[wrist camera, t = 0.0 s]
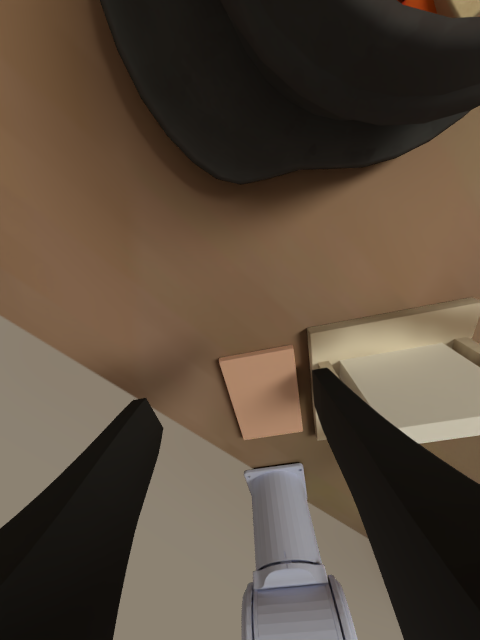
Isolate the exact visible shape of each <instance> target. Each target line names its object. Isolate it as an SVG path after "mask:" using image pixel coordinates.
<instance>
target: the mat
mask: <svg viewBox="0 0 480 640" xmlns="http://www.w3.org/2000/svg"><path fill="white" fill-rule="evenodd" d="M219 364H220V367H221V370H222V373H223V376H224V379H225V382H226V385H227V388H228V392H229V395H230V398H231V401H232V404H233V407H234V410H235V413H236V416H237V420H238V423H239V426H240V429H241V432H242V435H243V438H244V440H248V439H255V438H262V437H269V436H275V435H282V434H289V433H295V432H302V431H303V427H302V419H301V410H300V401H299V392H298V384H297V375H296V366H295V358H294V349H293V346H292V345H287V346H282V347H276V348H271V349H265V350H260V351H254V352H249V353H243V354H238V355H232V356H227V357H221V358H219Z"/></svg>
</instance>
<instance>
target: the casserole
mask: <svg viewBox="0 0 480 640" xmlns="http://www.w3.org/2000/svg"><path fill="white" fill-rule="evenodd" d="M100 2H101V5H102V8H103V11H104V13H105V16H106V19H107V22H108V25H109V28H110V30H111V33H112V36H113V39H114V42H115V45H116V47H117V50H118V52H119V54H120V56H121V58H122V60H123V62H124V64H125V66H126V68H127V70H128V72H129V74H130V77H131V79H132V81H133V83H134V85H135V87H136V89H137V91H138V93H139V95H140V97H141V99H142V100H143V101H144V103H145V104H146V106H147V107H148V109H149V110H150V112H151V113H152V114H153V116H154V117H155V119H156V120H157V122H158V123H159V124H160V126H161V127H162V129H163V130H164V132H165V133H166V135H167V136H168V137H169V138H170V139H171V140H172V141H173V142H174V143H175V144H176V145H177V146H178V147H179V148H180V149H181V150H182V152H183V153H184V154H185V155H186V156H187V157H188V158H189V159H190V160H191V161H192V162H193V163H195V164H196V165H197V166H199V167H200V168H202V169H203V170H205V171H206V172H208V173H209V174H210V175H212V176H213V177H215V178H216V179H220V180H224V181H228V182H232V183H237V184H246V183H251V182H255V181H260V180H264V179H269V178H272V177H276V176H279V175H283V174H286V173H290V172H293V171H297V170H304V169H335V168H360V167H366V166H369V165H373V164H376V163H380V162H384V161H387V160H391V159H394V158H397V157H399V156H401V155H403V154H405V153H407V152H409V151H411V150H413V149H415V148H417V147H419V146H421V145H423V144H425V143H427V142H429V141H430V140H432V139H433V138H435V137H436V136H437V135H439V134H440V133H442V132H443V131H444V130H446V129H447V128H448V127H450V126H451V125H453V124H454V123H455V122H457V121H458V120H460V119H461V118H462V117H464V116H465V115H466V114H467V113H468V112H469V111H470V110H472V109H474V108H476V107H478V106H480V0H100Z"/></svg>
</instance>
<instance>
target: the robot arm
mask: <svg viewBox="0 0 480 640" xmlns="http://www.w3.org/2000/svg"><path fill="white" fill-rule="evenodd" d="M312 381H313V395H314V406H315V409H316V412H317V415H318V418H319V421H320V424H321V426H322V429H323V432H324V434H325V436H326V438H327V440H328V443H329V445H330V447H331V449H332V452H333V454H334V456H335V458H336V460H337V463H338V465H339V467H340V469H341V471H342V474H343V476H344V478H345V480H346V482H347V485H348V487H349V489H350V491H351V494H352V496H353V498H354V501H355V503H356V506H357V508H358V511H359V514H360V516H361V519H362V522H363V525H364V527H365V530H366V533H367V535H368V538H369V541H370V543H371V546H372V549H373V552H374V555H375V558H376V560H377V563H378V565H379V569H380V572H381V574H382V577H383V580H384V583H385V586H386V588H387V591H388V594H389V597H390V600H391V603H392V606H393V609H394V611H395V615H396V617H397V620H398V623H399V626H400V629H401V632H402V635H403V638H404V640H480V484H478V483H476V482H475V481H473V480H472V479H470V478H468V477H467V476H465V475H464V474H462V473H461V472H459V471H458V470H456V469H455V468H453V467H452V466H450V465H449V464H447V463H446V462H444V461H443V460H441V459H440V458H438V457H437V456H435V455H434V454H433V453H431V452H430V451H428V450H427V449H425V448H424V447H422V446H421V445H420V444H418V443H417V442H415V441H414V440H413V439H411V438H410V437H409V436H407V435H406V434H405V433H403V432H402V431H401V430H399V429H398V428H397V427H395V426H394V425H393V424H392V423H390V422H389V421H388V420H386V419H385V418H384V417H383V416H381V415H380V414H379V413H378V412H377V411H375V410H374V409H373V408H372V407H371V406H369V405H368V404H367V403H366V402H365V401H363V400H362V399H361V398H360V397H359V396H358V395H357V394H355V393H354V392H353V391H352V390H351V389H350V388H349V387H348V386H347V385H345V384H344V383H343V382H342V381H341V380H340V379H339V378H338V377H337V376H336V375H335V374H334V373H333V372H332V371H331V370H330V369H328V368H327V367H326V368H320V369H315V370H312ZM162 432H163V427H162V425H161V423H160V422H159V420H158V418H157V416H156V415H155V413H154V411H153V409H152V408H151V406H150V404H149V402H148V401H147V399H146V398H143V399H137V400H133V401H132V402H131V403H130V404H129V405H128V406H127V407H126V408H125V409H124V410H123V411H122V412H121V413H120V414H119V415H118V416H117V417H116V418H115V419H114V420H113V421H112V422H111V423H110V425H108V427H107V428H106V429H105V430H104V431H103V432H102V433H101V434H100V435H99V436H98V437H97V438H96V439H95V440H94V441H93V442H92V443H91V444H90V446H88V448H87V449H86V450H85V451H84V452H83V453H82V454H81V455H80V456H79V457H78V458H77V459H76V460H75V461H74V462H73V463H72V464H71V465H70V466H69V467H68V468H67V469H66V470H65V471H64V472H63V473H62V474H61V475H60V476H59V477H58V478H56V479H55V480H54V481H53V482H52V483H51V484H50V485H49V486H48V487H47V488H46V489H45V490H44V491H43V492H42V493H40V495H38V496H37V497H36V498H35V499H34V500H33V501H32V502H30V503H29V505H27V506H26V507H25V508H24V509H23V510H22V511H20V512H19V513H18V514H17V515H16V516H15V517H14V518H12V519H11V520H10V521H9V522H8V523H6V524H5V525H4V526H3V527H2V528H1V529H0V640H113V635H114V629H115V624H116V619H117V613H118V607H119V603H120V598H121V592H122V588H123V582H124V578H125V573H126V568H127V564H128V559H129V555H130V551H131V546H132V542H133V537H134V533H135V529H136V526H137V522H138V519H139V515H140V512H141V509H142V506H143V502H144V499H145V496H146V493H147V490H148V486H149V483H150V480H151V477H152V474H153V470H154V467H155V464H156V461H157V457H158V454H159V449H160V444H161V439H162ZM244 476H245V479H246V481H247V484H248V487H249V490H250V493H251V495H252V507H253V523H254V524H253V525H254V542H255V560H256V571H253V582H251V583H249V584H248V586H247V589H246V590H245V592H244V595H243V601H242V640H358V639H357V636H356V631H355V628H354V624H353V621H352V617H351V614H350V611H349V607H348V604H347V600H346V598H345V594H344V592H343V589H342V586H341V584H340V583H339V582H338V581H337V580H336V579H335V577H334V576H333V575H328V578H327V574H326V570H325V566H324V565H323V564H322V561H321V557H320V553H319V549H318V545H317V541H316V537H315V532H314V528H313V524H312V520H311V516H310V512H309V508H308V504H307V493H306V485H305V477H304V470H303V465H302V464H301V463H295V464H288V465H281V466H274V467H266V468H259V469H252V470H246V471H244Z"/></svg>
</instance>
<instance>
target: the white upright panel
mask: <svg viewBox="0 0 480 640" xmlns="http://www.w3.org/2000/svg"><path fill="white" fill-rule="evenodd" d="M340 378H341V380H342V381H343V383H344V384H345V385H347V386H348V387H349V388H350V389H351V390H352V391H353V392H354V393H355V394H357V395H358V396H359V397H360V398H361V399H362V400H363V401H365V402H366V403H367V404H368V405H369V406H371V407H372V408H373V409H374V410H375V411H377V412H378V413H379V414H380V415H381V416H383V417H384V418H385V419H386V420H388V421H389V422H390V423H392V424H393V425H394V426H395V427H397V428H398V429H399V430H401V431H402V432H403V433H405V434H406V435H407V436H409V437H410V438H411V439H413V440H414V441H415V442H417V443H418V444H419V443H427V442H434V441H441V440H448V439H455V438H463V437H470V436H477V435H480V367H479V366H477V365H475V364H474V363H472V362H471V361H469V360H468V359H466V358H465V357H463V356H462V355H460V354H459V353H457V352H456V351H454V350H453V349H451V348H450V347H448V346H446V345H445V344H443V343H438V344H433V345H427V346H421V347H415V348H409V349H404V350H398V351H392V352H386V353H380V354H375V355H369V356H363V357H357V358H351V359H346V360H340Z"/></svg>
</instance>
